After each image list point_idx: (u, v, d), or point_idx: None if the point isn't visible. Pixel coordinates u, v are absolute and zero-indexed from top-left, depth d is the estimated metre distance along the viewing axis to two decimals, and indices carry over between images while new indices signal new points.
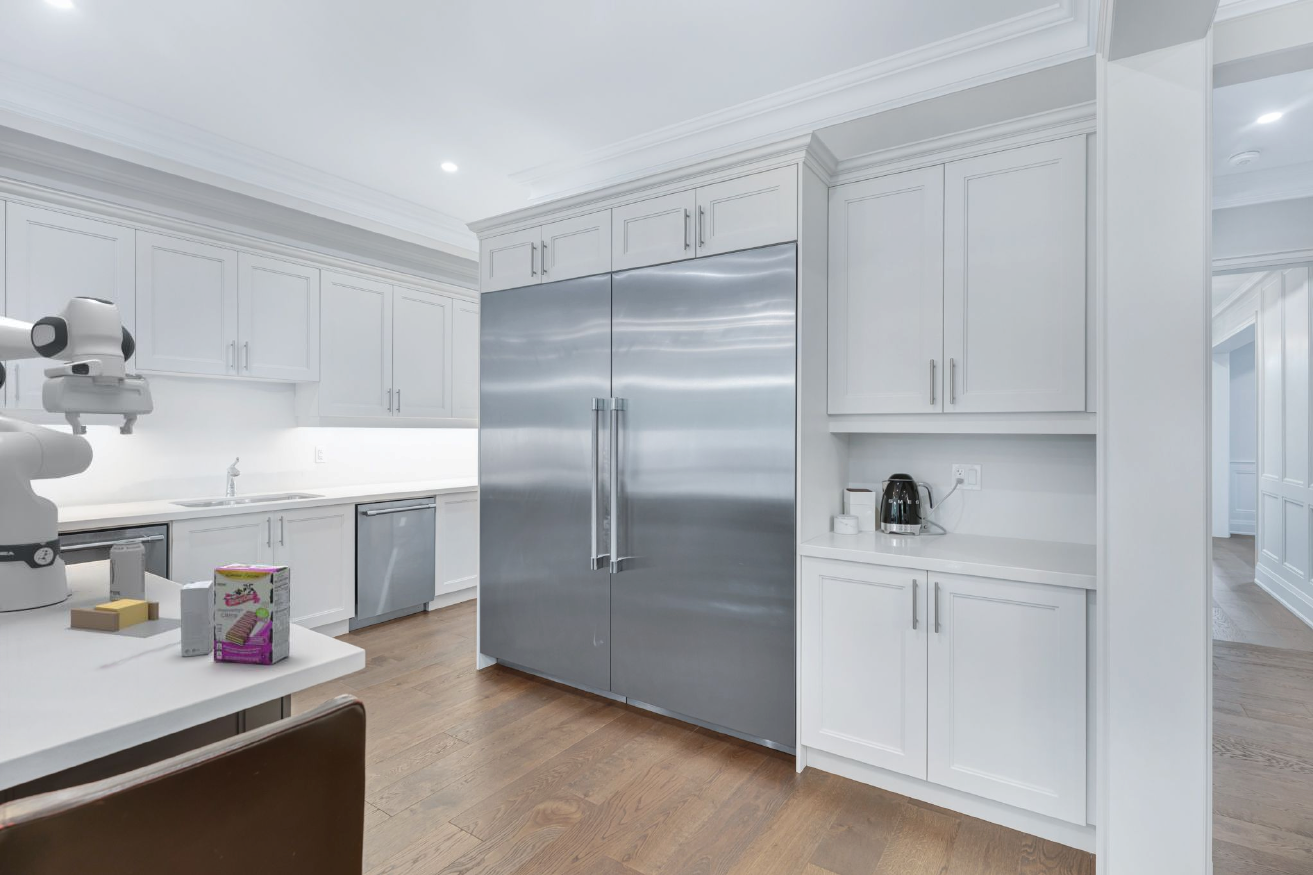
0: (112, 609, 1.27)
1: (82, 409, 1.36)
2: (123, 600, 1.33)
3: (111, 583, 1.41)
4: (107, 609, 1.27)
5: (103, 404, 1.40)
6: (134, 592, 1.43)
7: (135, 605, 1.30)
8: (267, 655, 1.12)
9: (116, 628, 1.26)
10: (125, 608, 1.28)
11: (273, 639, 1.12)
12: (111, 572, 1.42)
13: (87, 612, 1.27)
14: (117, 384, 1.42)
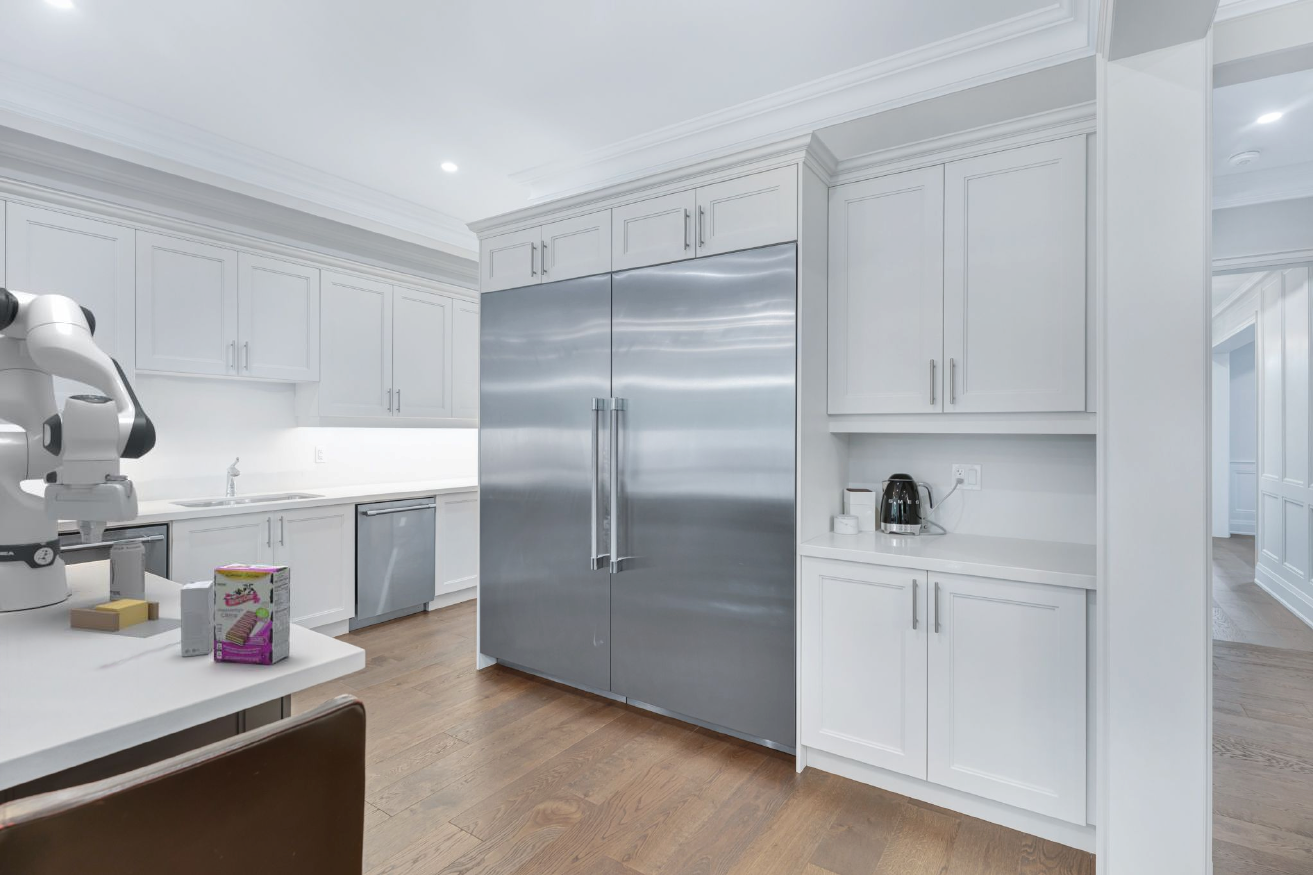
0: (112, 609, 1.27)
1: (63, 517, 1.32)
2: (123, 600, 1.33)
3: (111, 583, 1.41)
4: (107, 609, 1.27)
5: (78, 512, 1.30)
6: (134, 592, 1.43)
7: (135, 605, 1.30)
8: (267, 655, 1.12)
9: (116, 628, 1.26)
10: (125, 608, 1.28)
11: (273, 639, 1.12)
12: (111, 572, 1.42)
13: (87, 612, 1.27)
14: (82, 491, 1.29)
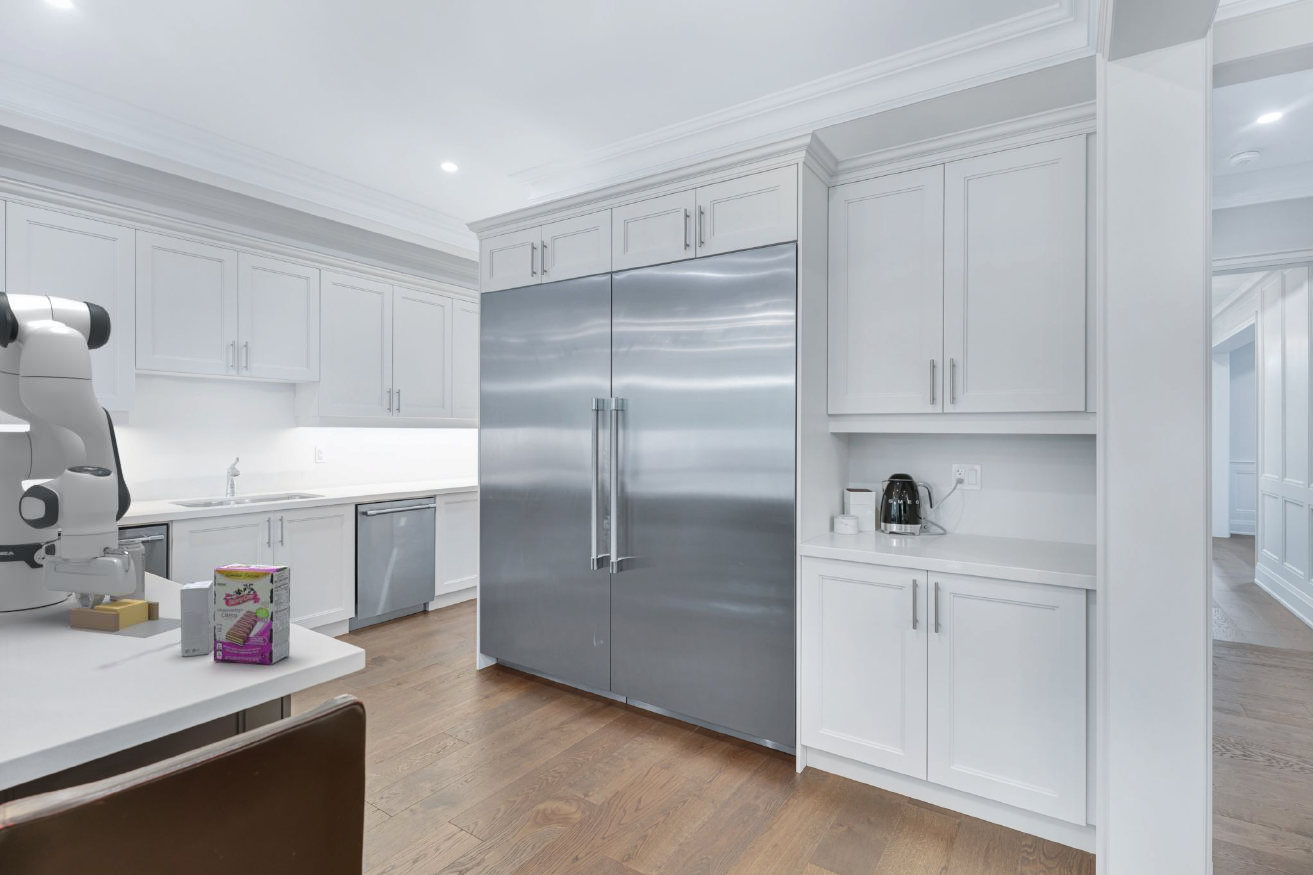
0: (112, 609, 1.27)
1: (61, 589, 1.32)
2: (123, 600, 1.33)
3: None
4: (107, 609, 1.27)
5: (76, 584, 1.31)
6: (134, 592, 1.43)
7: (135, 605, 1.30)
8: (267, 655, 1.12)
9: (116, 628, 1.26)
10: (125, 608, 1.28)
11: (273, 639, 1.12)
12: None
13: (87, 612, 1.27)
14: (80, 565, 1.29)
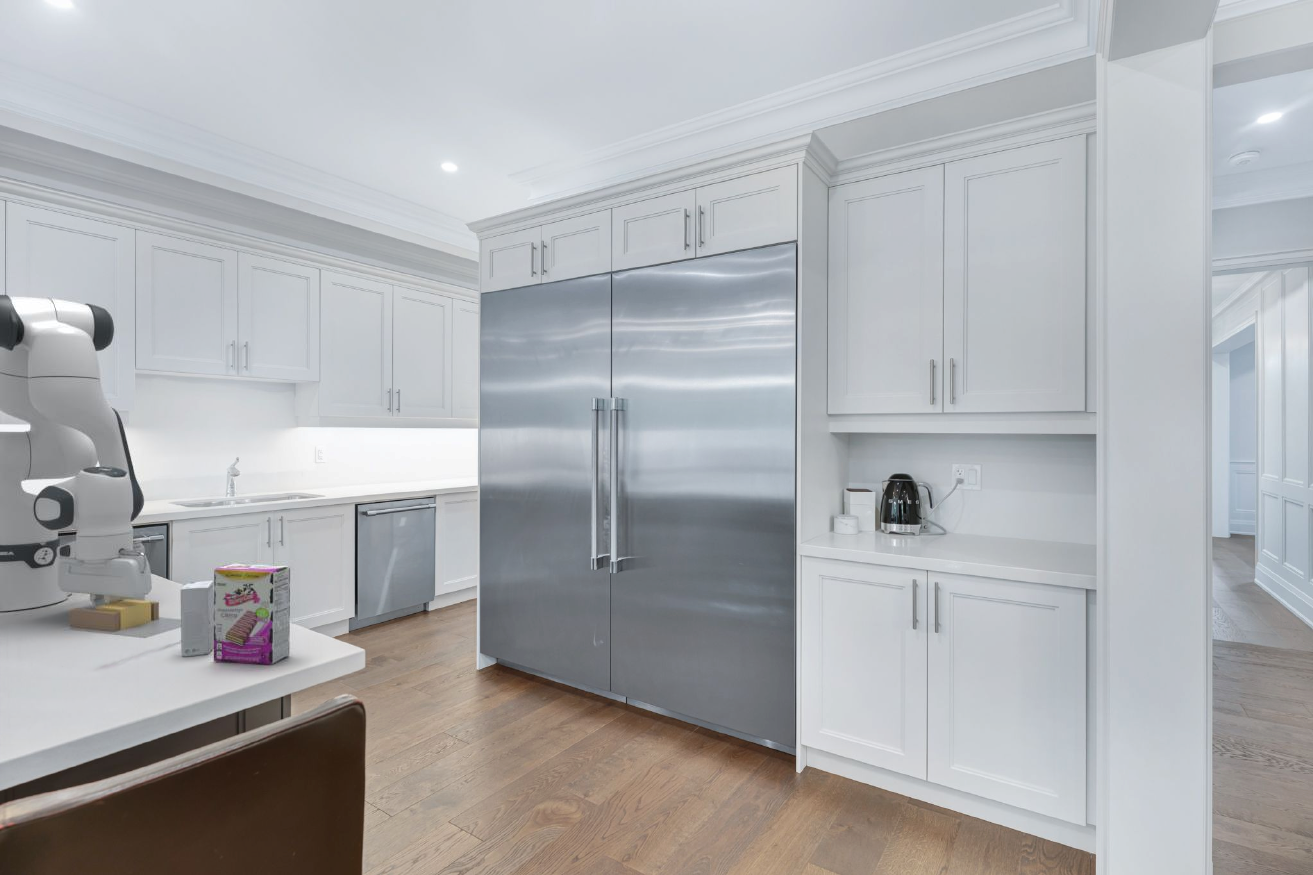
0: (115, 609, 1.27)
1: (76, 590, 1.31)
2: (126, 600, 1.33)
3: None
4: (110, 609, 1.27)
5: (92, 586, 1.30)
6: None
7: (138, 605, 1.30)
8: (267, 655, 1.12)
9: (116, 628, 1.26)
10: (128, 608, 1.28)
11: (273, 639, 1.12)
12: None
13: (87, 612, 1.27)
14: (96, 566, 1.28)
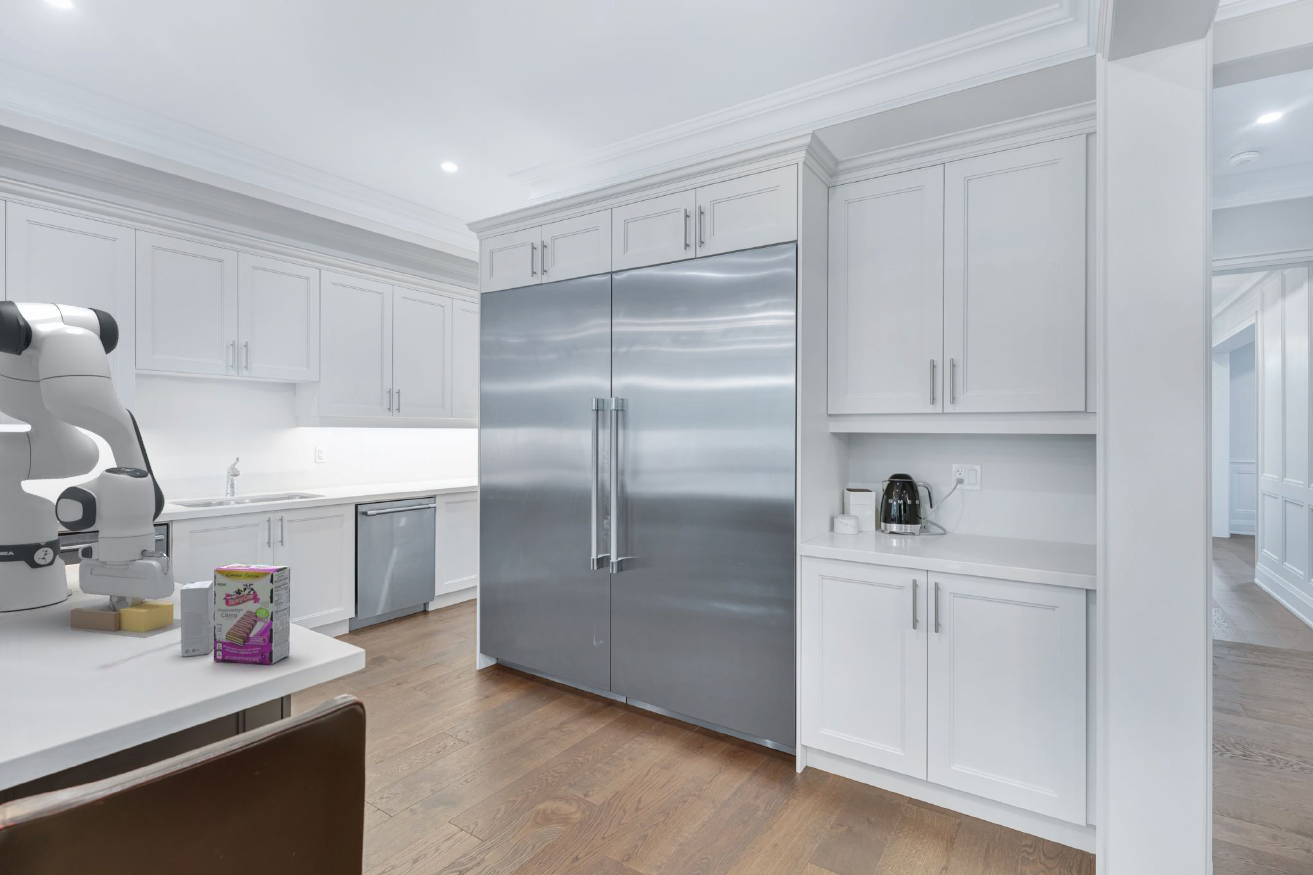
0: (138, 612, 1.26)
1: (98, 592, 1.29)
2: (148, 602, 1.31)
3: None
4: (133, 612, 1.26)
5: (114, 588, 1.28)
6: None
7: (161, 608, 1.29)
8: (267, 655, 1.12)
9: (116, 628, 1.26)
10: (151, 611, 1.27)
11: (273, 639, 1.12)
12: None
13: (87, 612, 1.27)
14: (118, 568, 1.27)
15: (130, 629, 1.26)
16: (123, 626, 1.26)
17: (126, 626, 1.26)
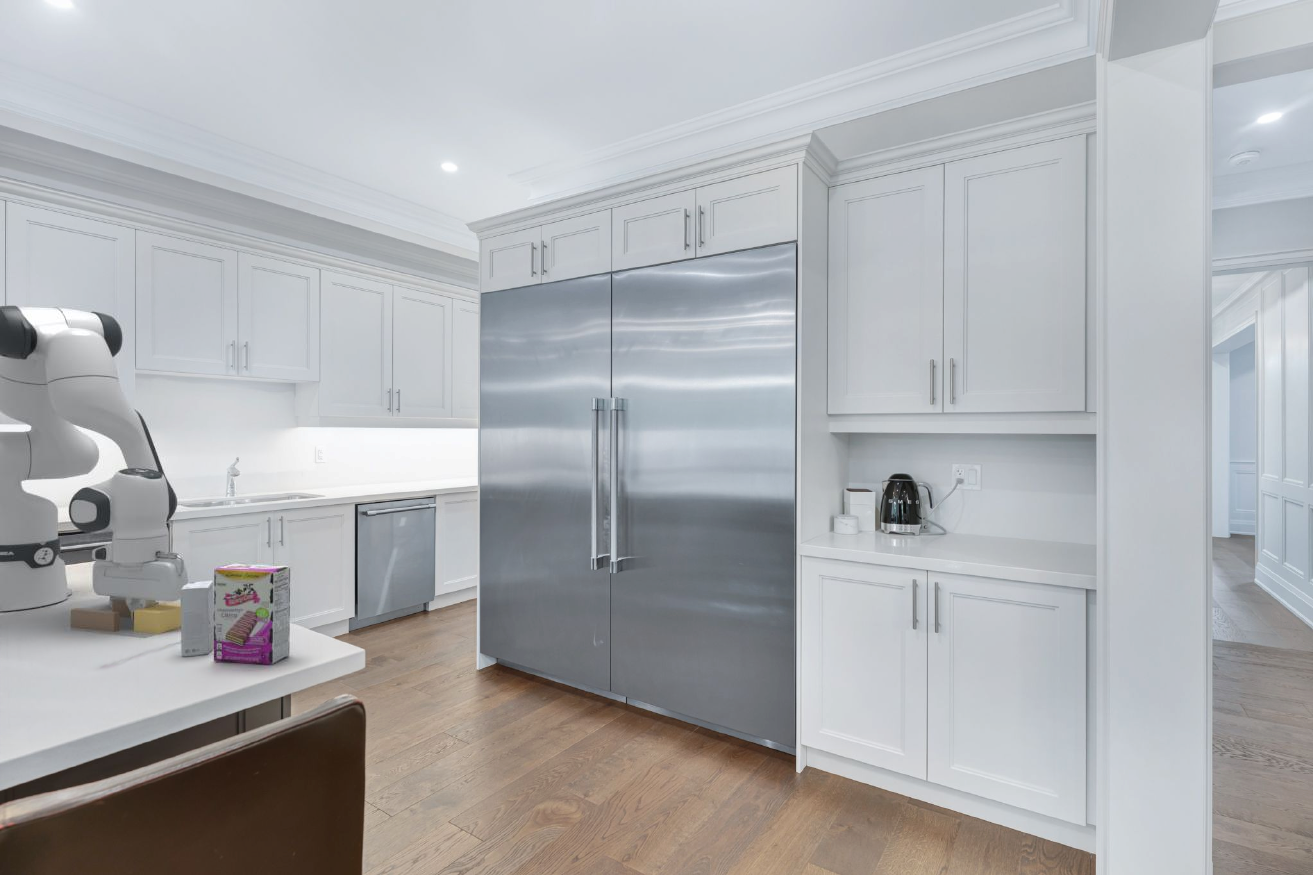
0: (153, 613, 1.25)
1: (112, 594, 1.29)
2: (162, 604, 1.31)
3: None
4: (148, 613, 1.25)
5: (128, 589, 1.28)
6: None
7: (175, 609, 1.28)
8: (267, 655, 1.12)
9: (116, 628, 1.26)
10: (166, 612, 1.26)
11: (273, 639, 1.12)
12: None
13: (87, 612, 1.27)
14: (132, 569, 1.26)
15: (145, 630, 1.25)
16: (138, 627, 1.26)
17: (141, 628, 1.26)
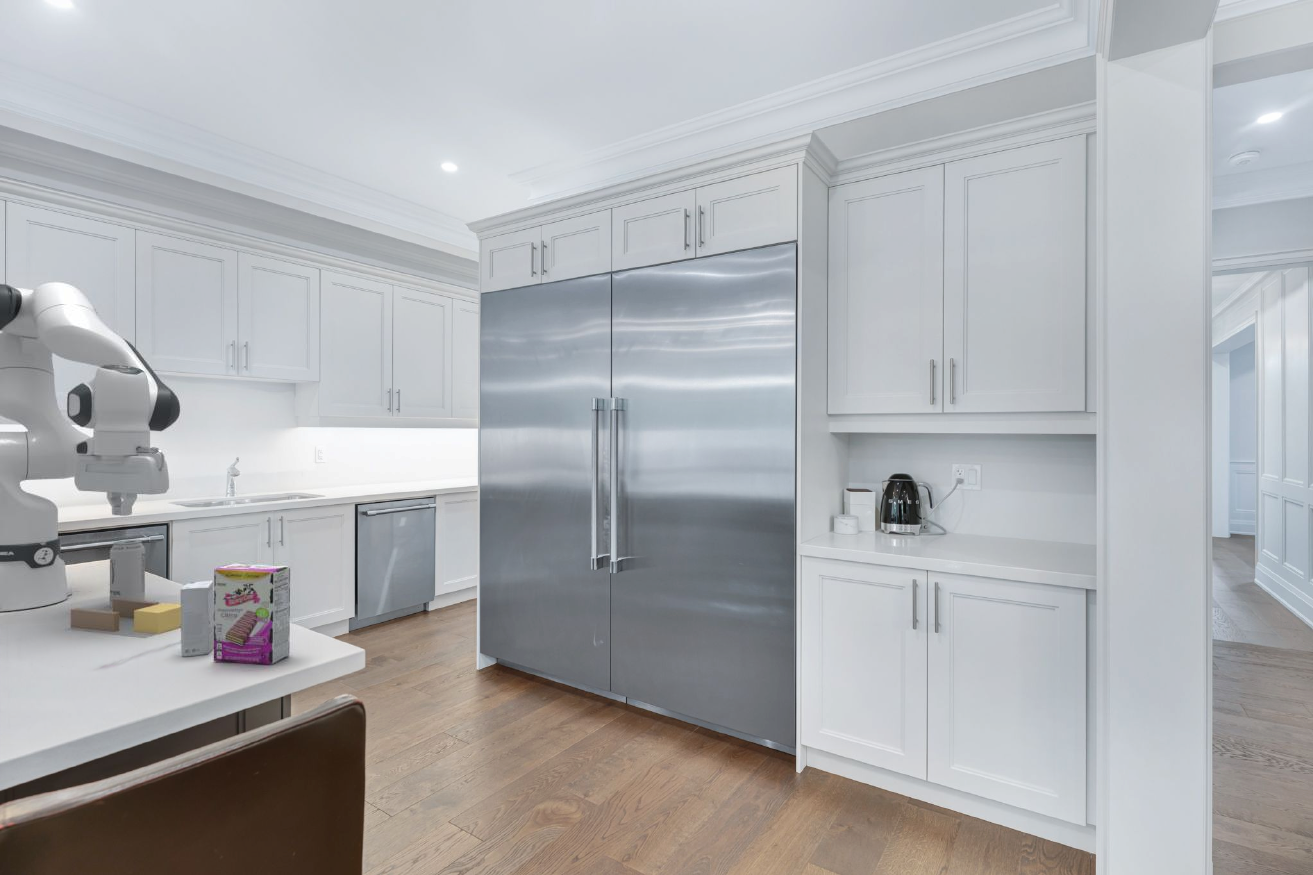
0: (153, 613, 1.25)
1: (93, 489, 1.30)
2: (162, 604, 1.31)
3: (111, 583, 1.41)
4: (148, 613, 1.25)
5: (109, 484, 1.29)
6: (134, 592, 1.43)
7: (175, 609, 1.28)
8: (267, 655, 1.12)
9: (116, 628, 1.26)
10: (166, 612, 1.26)
11: (273, 639, 1.12)
12: (111, 572, 1.42)
13: (87, 612, 1.27)
14: (113, 463, 1.27)
15: (145, 630, 1.25)
16: (138, 627, 1.26)
17: (141, 628, 1.26)
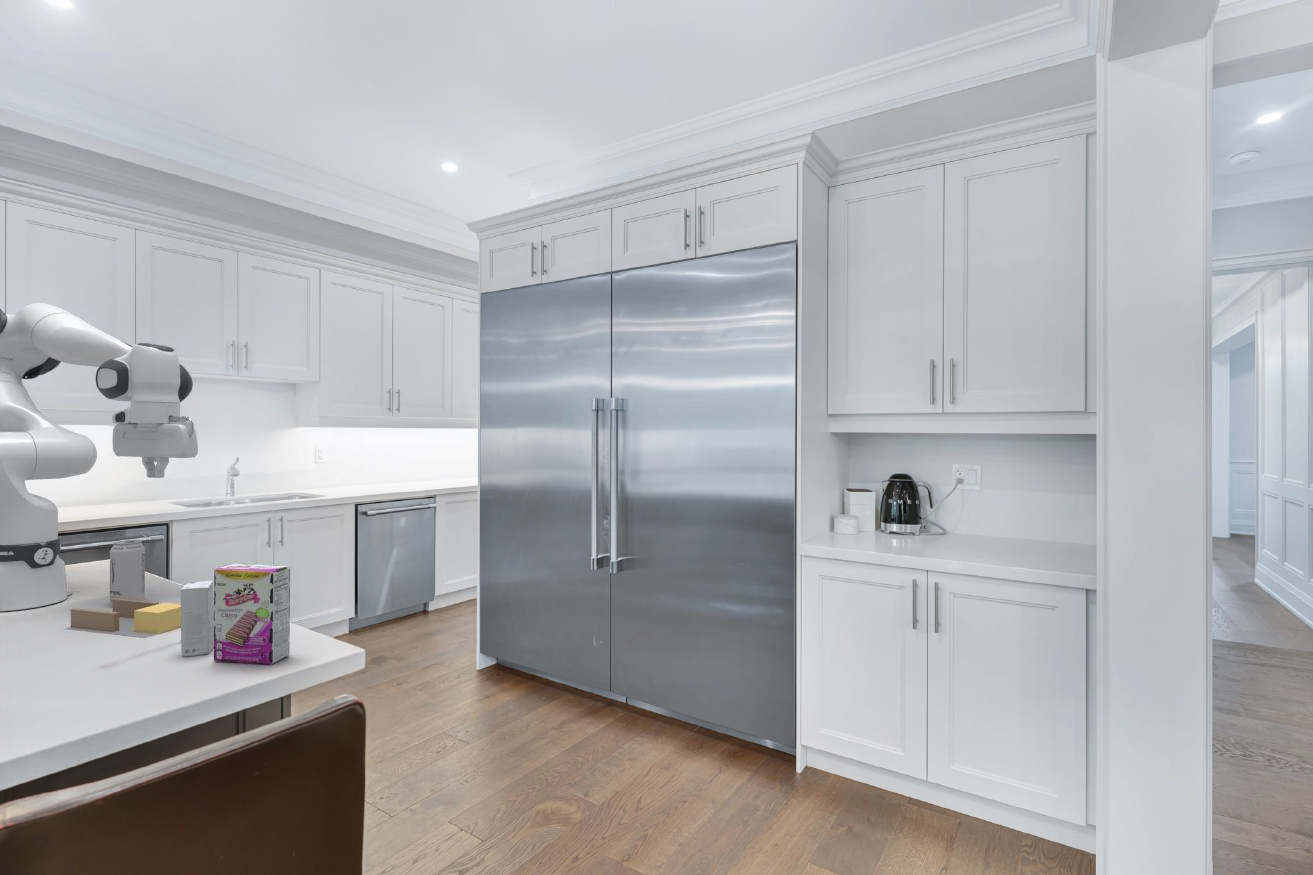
0: (153, 613, 1.25)
1: (130, 454, 1.45)
2: (162, 604, 1.31)
3: (111, 583, 1.41)
4: (148, 613, 1.25)
5: (144, 449, 1.44)
6: (134, 592, 1.43)
7: (175, 609, 1.28)
8: (267, 655, 1.12)
9: (116, 628, 1.26)
10: (166, 612, 1.26)
11: (273, 639, 1.12)
12: (111, 572, 1.42)
13: (87, 612, 1.27)
14: (148, 430, 1.43)
15: (145, 630, 1.25)
16: (138, 627, 1.26)
17: (141, 628, 1.26)
